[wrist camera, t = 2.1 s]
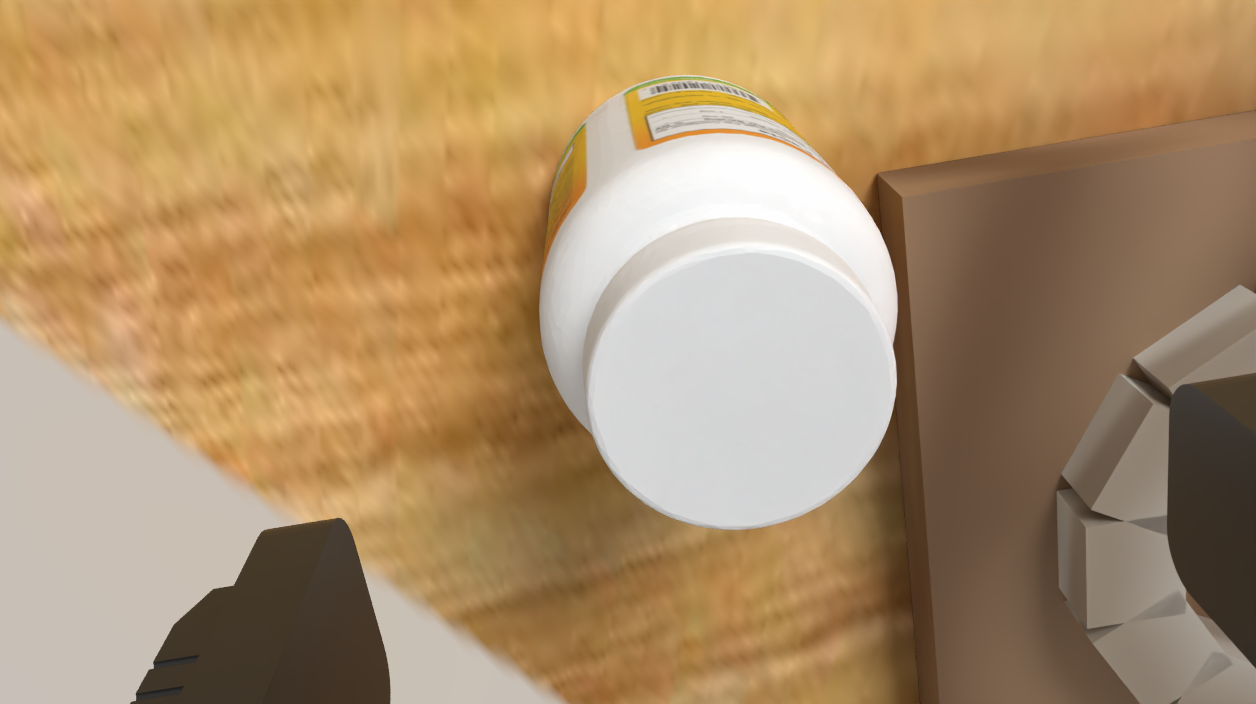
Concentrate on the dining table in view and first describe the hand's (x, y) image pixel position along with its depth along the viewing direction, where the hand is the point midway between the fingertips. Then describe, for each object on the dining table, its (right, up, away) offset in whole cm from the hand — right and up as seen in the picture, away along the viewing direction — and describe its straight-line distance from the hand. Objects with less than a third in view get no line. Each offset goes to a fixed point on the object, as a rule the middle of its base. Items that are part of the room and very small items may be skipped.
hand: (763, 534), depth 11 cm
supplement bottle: (0, +5, +12) cm, 13 cm away
